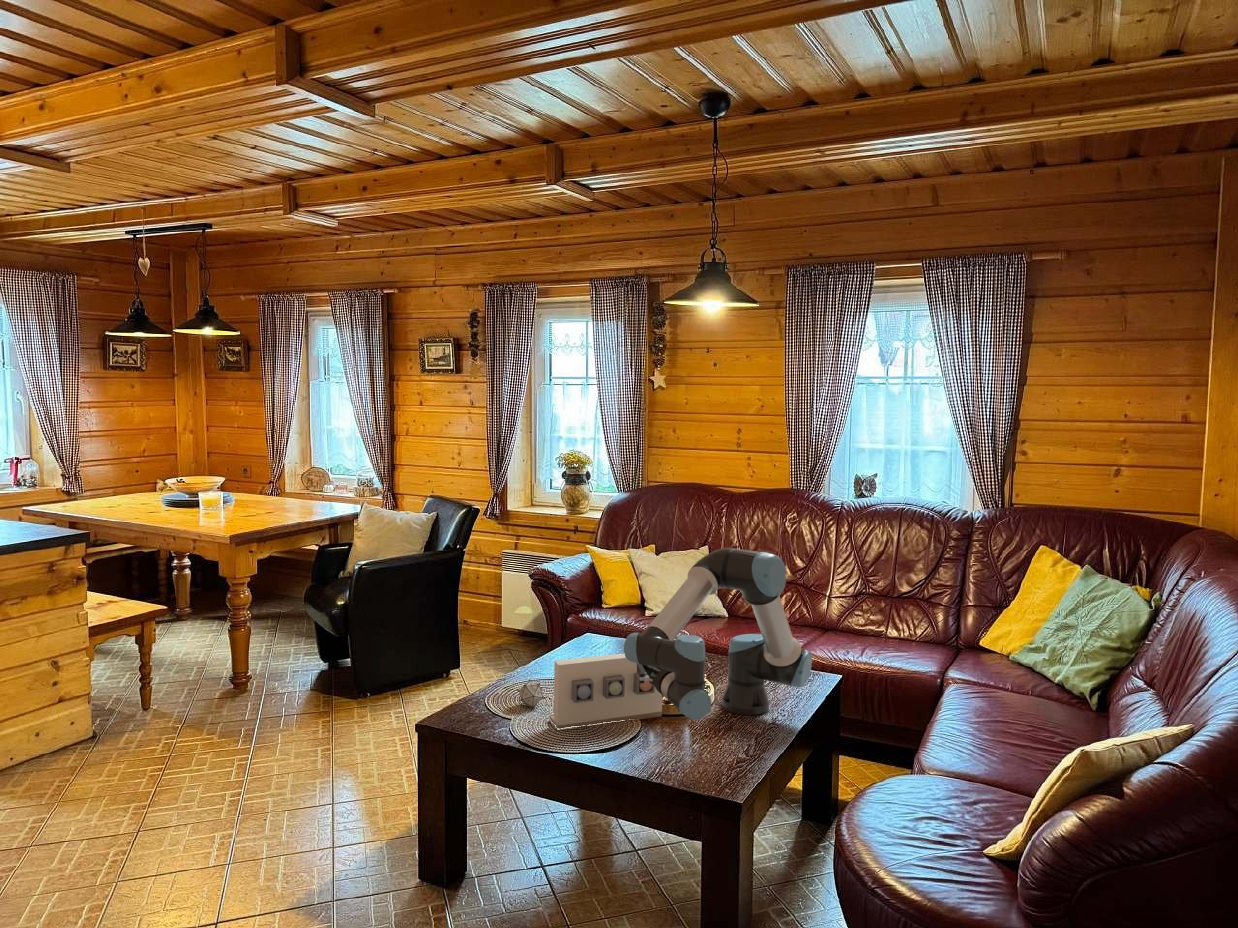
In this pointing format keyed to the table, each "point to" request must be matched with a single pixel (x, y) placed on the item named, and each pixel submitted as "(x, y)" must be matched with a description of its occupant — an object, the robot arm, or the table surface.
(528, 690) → the game die
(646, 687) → the terracotta button
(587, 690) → the slate button
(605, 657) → the button panel
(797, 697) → the table surface
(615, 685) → the sage button
